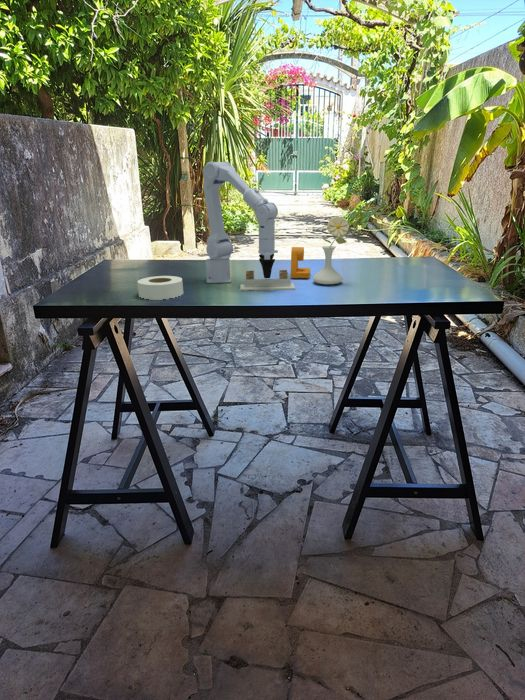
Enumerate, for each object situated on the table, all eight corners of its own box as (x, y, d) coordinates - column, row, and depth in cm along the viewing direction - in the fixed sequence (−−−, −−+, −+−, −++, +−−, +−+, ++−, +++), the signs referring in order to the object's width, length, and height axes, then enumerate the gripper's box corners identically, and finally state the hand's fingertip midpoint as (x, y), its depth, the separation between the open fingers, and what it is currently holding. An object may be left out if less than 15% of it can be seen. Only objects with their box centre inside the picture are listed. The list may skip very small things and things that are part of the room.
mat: (240, 290, 174) (240, 289, 174) (240, 285, 182) (240, 284, 181) (295, 289, 174) (295, 288, 174) (293, 284, 182) (293, 283, 182)
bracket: (308, 279, 189) (309, 249, 185) (290, 279, 191) (290, 249, 186) (310, 274, 199) (310, 245, 195) (292, 274, 200) (293, 245, 196)
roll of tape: (142, 290, 178) (140, 275, 176) (185, 289, 179) (184, 274, 177) (135, 301, 163) (133, 285, 161) (181, 299, 164) (180, 284, 162)
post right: (279, 283, 184) (279, 272, 183) (279, 280, 189) (279, 270, 187) (287, 283, 184) (287, 272, 183) (286, 280, 189) (286, 269, 187)
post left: (246, 284, 184) (245, 273, 183) (246, 281, 189) (246, 270, 187) (253, 283, 184) (253, 273, 183) (254, 281, 189) (253, 270, 187)
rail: (244, 287, 177) (244, 280, 176) (244, 285, 179) (244, 279, 178) (290, 286, 177) (290, 279, 176) (290, 284, 179) (290, 278, 178)
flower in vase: (309, 285, 180) (310, 217, 171) (316, 279, 190) (318, 214, 181) (343, 287, 176) (346, 217, 167) (349, 281, 186) (352, 214, 177)
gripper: (278, 241, 165) (278, 279, 170) (276, 235, 178) (276, 271, 183) (258, 241, 165) (258, 280, 170) (258, 235, 178) (258, 271, 183)
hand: (266, 275), depth 176 cm, fingers open, 7 cm apart
